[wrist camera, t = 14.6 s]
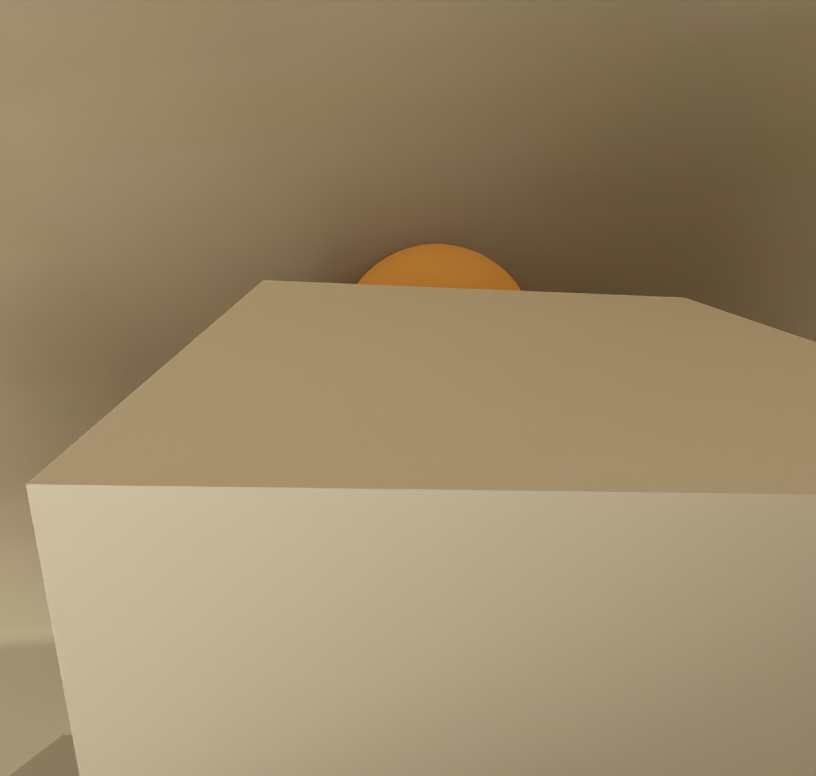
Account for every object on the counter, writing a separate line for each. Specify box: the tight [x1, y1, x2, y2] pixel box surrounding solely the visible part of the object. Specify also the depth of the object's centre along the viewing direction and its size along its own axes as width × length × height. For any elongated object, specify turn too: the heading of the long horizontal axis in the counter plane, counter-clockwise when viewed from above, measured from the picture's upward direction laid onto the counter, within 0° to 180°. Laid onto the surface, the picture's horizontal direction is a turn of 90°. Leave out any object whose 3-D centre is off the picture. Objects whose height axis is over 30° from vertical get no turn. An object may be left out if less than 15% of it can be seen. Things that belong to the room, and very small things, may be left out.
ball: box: [357, 244, 521, 291], centre depth 15 cm, size 5×5×5 cm
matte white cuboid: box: [26, 280, 816, 776], centre depth 8 cm, size 7×10×7 cm
